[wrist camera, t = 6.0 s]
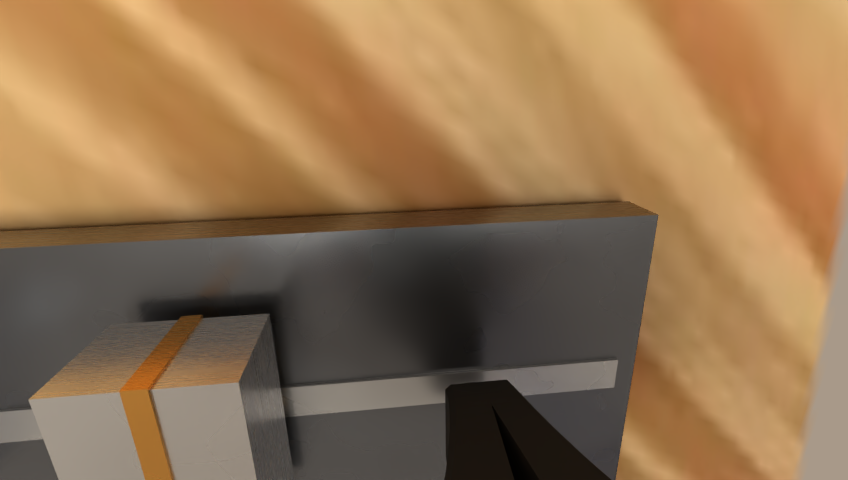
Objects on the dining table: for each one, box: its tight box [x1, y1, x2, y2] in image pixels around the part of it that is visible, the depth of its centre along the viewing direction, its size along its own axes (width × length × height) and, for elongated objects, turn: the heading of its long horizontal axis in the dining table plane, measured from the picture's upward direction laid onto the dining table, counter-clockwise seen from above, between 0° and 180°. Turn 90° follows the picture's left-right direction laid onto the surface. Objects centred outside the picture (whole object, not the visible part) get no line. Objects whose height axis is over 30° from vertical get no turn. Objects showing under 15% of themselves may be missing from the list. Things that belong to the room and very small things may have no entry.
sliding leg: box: [28, 314, 294, 480], centre depth 9 cm, size 5×3×2 cm, turn 1°
